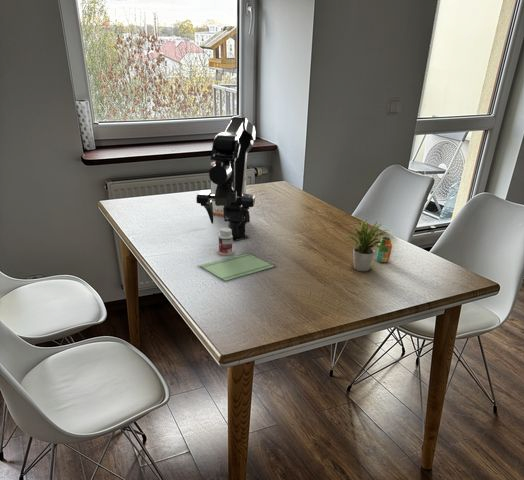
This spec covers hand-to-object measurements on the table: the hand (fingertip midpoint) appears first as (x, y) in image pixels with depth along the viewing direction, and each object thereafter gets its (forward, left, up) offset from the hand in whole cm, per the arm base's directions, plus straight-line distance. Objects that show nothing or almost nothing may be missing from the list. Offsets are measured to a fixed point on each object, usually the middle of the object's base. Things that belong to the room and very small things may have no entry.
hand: (225, 224), depth 174 cm
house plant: (+37, +29, -10) cm, 48 cm away
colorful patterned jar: (+36, +41, -10) cm, 56 cm away
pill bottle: (0, 0, -10) cm, 10 cm away
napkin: (+12, -4, -10) cm, 16 cm away
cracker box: (-34, +26, -10) cm, 44 cm away
